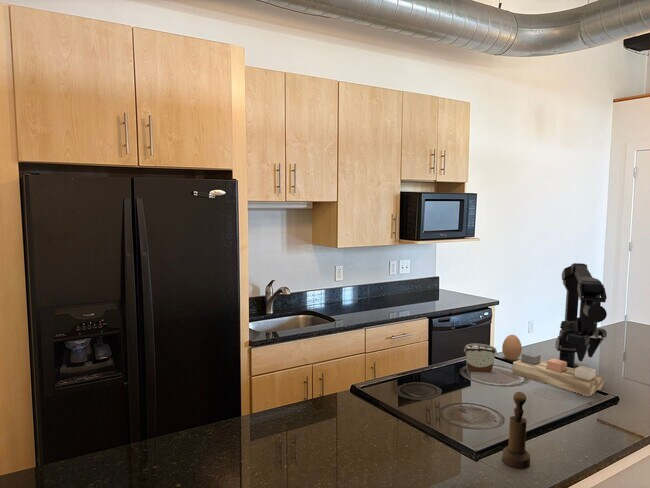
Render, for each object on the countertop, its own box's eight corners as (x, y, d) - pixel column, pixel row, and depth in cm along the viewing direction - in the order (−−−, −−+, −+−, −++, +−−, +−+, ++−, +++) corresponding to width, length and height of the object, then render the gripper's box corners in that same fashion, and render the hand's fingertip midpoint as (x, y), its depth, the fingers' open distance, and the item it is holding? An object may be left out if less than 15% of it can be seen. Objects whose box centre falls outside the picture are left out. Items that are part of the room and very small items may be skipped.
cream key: (580, 373, 176) (581, 365, 176) (595, 377, 172) (595, 369, 172) (574, 376, 173) (575, 368, 173) (589, 380, 169) (589, 372, 169)
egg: (522, 359, 205) (524, 334, 204) (518, 364, 199) (520, 338, 198) (503, 356, 209) (505, 331, 208) (499, 360, 203) (501, 335, 202)
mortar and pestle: (497, 455, 126) (501, 387, 124) (521, 454, 126) (526, 387, 125) (509, 469, 119) (513, 397, 118) (534, 468, 120) (539, 397, 118)
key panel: (528, 367, 195) (528, 356, 195) (602, 389, 174) (603, 376, 173) (512, 373, 188) (513, 362, 187) (588, 397, 166) (589, 384, 166)
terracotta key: (553, 366, 184) (553, 358, 184) (566, 369, 180) (567, 361, 180) (546, 368, 181) (547, 360, 180) (560, 372, 177) (560, 364, 177)
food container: (492, 368, 193) (493, 344, 192) (495, 374, 187) (497, 348, 186) (460, 366, 194) (461, 342, 193) (463, 372, 188) (464, 346, 187)
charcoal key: (527, 359, 192) (528, 351, 191) (540, 362, 188) (540, 354, 187) (521, 361, 188) (521, 353, 188) (533, 365, 185) (534, 357, 184)
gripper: (576, 308, 183) (573, 349, 184) (553, 314, 171) (550, 357, 173) (608, 314, 174) (605, 356, 176) (586, 321, 163) (582, 366, 164)
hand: (585, 359), depth 172 cm, fingers open, 7 cm apart
